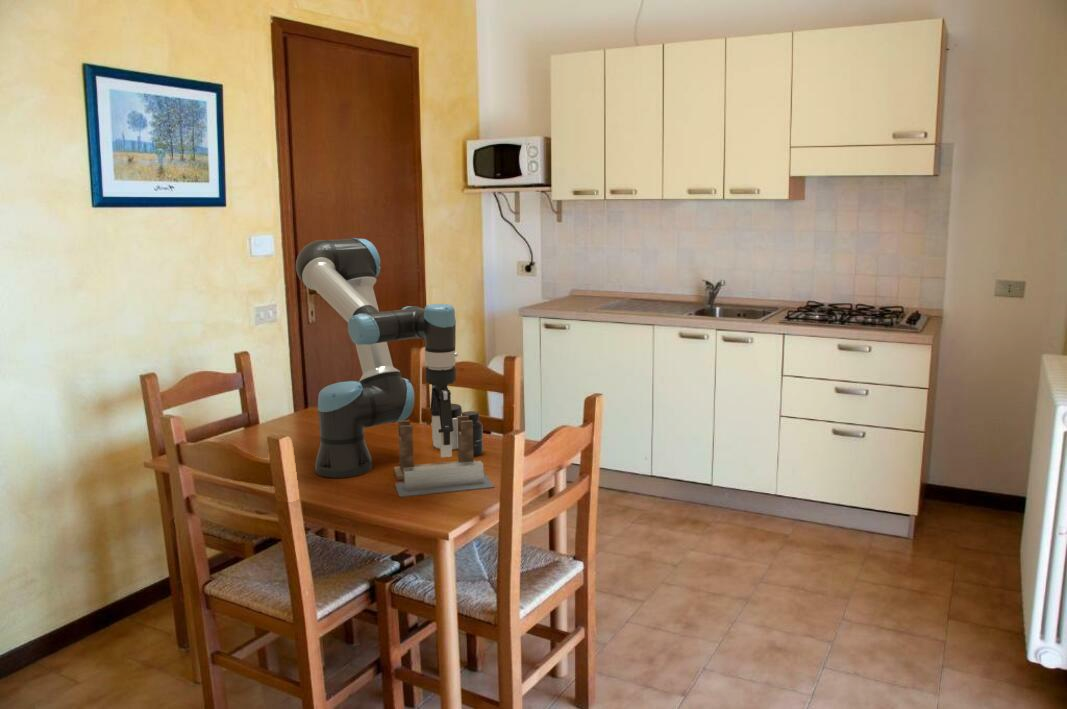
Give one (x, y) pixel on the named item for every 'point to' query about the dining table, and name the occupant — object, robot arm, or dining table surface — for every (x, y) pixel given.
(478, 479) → the rail
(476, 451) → the supplement bottle
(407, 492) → the mat
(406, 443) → the stand
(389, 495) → the dining table surface
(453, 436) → the jar
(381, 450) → the dining table surface
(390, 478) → the dining table surface
